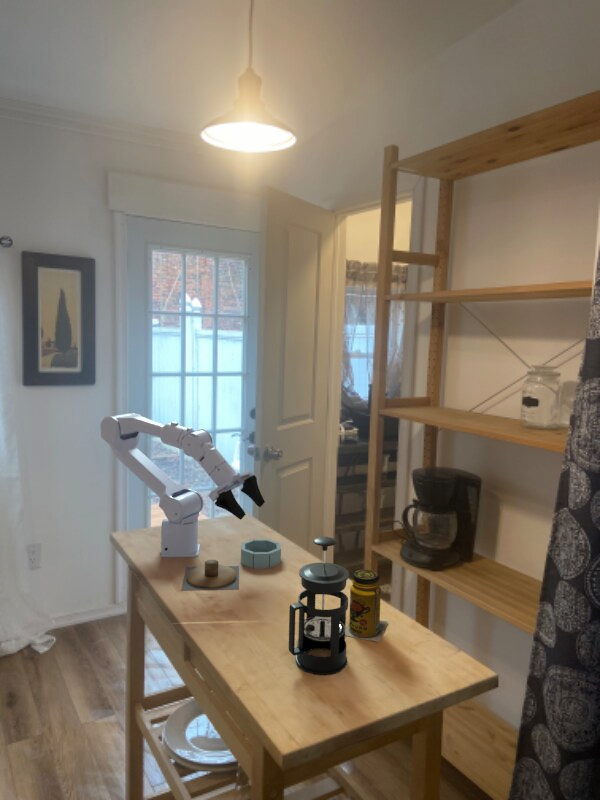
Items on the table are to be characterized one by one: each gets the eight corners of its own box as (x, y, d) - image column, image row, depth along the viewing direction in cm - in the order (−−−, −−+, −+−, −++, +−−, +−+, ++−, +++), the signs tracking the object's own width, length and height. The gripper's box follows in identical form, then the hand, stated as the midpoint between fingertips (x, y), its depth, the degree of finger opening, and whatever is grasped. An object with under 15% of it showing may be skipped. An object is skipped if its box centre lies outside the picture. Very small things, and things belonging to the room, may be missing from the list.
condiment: (342, 635, 118) (344, 577, 116) (353, 616, 126) (355, 561, 124) (378, 643, 116) (381, 584, 114) (387, 622, 124) (390, 567, 122)
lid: (184, 588, 136) (184, 573, 135) (188, 567, 147) (188, 553, 147) (235, 587, 137) (236, 572, 137) (236, 567, 148) (236, 552, 148)
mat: (181, 591, 135) (181, 590, 135) (186, 567, 148) (186, 566, 148) (238, 590, 136) (238, 589, 136) (239, 567, 149) (238, 565, 149)
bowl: (241, 569, 148) (241, 554, 147) (240, 553, 158) (241, 539, 157) (281, 568, 149) (281, 553, 148) (278, 553, 159) (279, 538, 158)
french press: (333, 641, 116) (337, 526, 113) (360, 666, 107) (365, 543, 104) (278, 656, 110) (281, 535, 107) (302, 683, 102) (306, 554, 99)
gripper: (205, 470, 142) (241, 513, 139) (244, 450, 154) (278, 490, 151) (193, 486, 146) (228, 529, 143) (232, 466, 158) (265, 505, 155)
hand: (252, 510), depth 147 cm, fingers open, 7 cm apart
